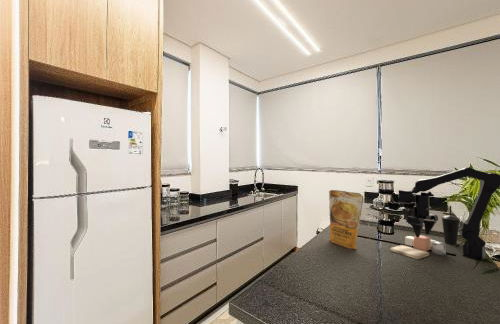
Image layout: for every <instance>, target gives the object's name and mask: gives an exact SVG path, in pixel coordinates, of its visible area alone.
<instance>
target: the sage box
mask: <svg viewBox="0 0 500 324" xmlns="http://www.w3.org/2000/svg"><path fill="white" fill-rule="evenodd" d="M432 241H436V240H435V239H432V238H430V248H432ZM437 241H438V240H437ZM438 242H440V241H438Z"/></svg>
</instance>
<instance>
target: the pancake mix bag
mask: <svg viewBox="0 0 500 324" xmlns="http://www.w3.org/2000/svg"><path fill="white" fill-rule="evenodd" d="M328 194H329V195H328V197H329V198H328V200H329V227H330V231H329V232H330V233H329V241H330V243H333V244H335V245H337V246H340V247H344V248H345V249H349V250H357V244H356V243H357V239H358V234H359V233H358V232H359V227H360V221H361V216H362V208H363V203H364V195H362V194H361V193H360V192H350V191H346V190H337V189H331V190H328Z"/></svg>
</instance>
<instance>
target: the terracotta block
mask: <svg viewBox="0 0 500 324" xmlns="http://www.w3.org/2000/svg"><path fill="white" fill-rule="evenodd" d="M413 237H414V247H413V248H415V249H418V250H422V251H425V252H428V251H430V250H432V247H431V246H430V239H431V236H427V235H426V236H425V235H422V234H420V236H419V237H416V235H414V236H413Z"/></svg>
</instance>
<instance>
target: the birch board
mask: <svg viewBox="0 0 500 324" xmlns="http://www.w3.org/2000/svg"><path fill="white" fill-rule="evenodd" d="M389 250H390V251H391V252H394V253H397V254H400V255H403V256H406V257H410V258H413V259H415V260H420V259H422V258H425V257H429V256H430V252H428V251H423V250H419V249H416V248H414V247H412V246H409V245H405V244H404V245H403V244H400V245H397V246H393V247H390V249H389Z"/></svg>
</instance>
